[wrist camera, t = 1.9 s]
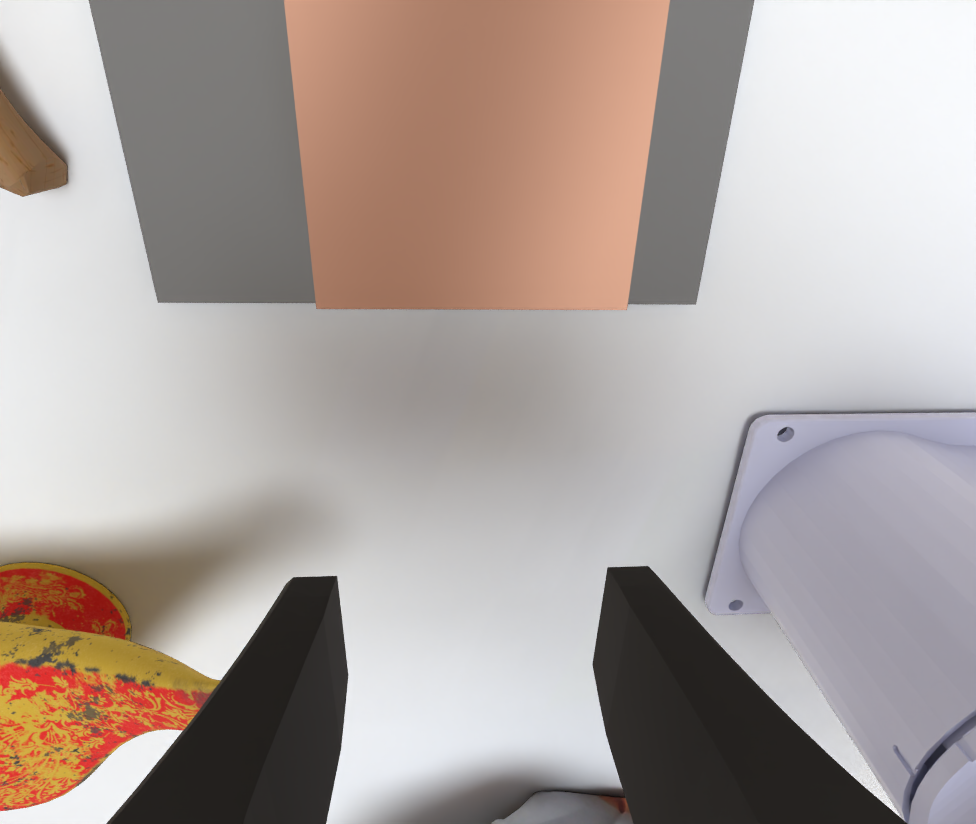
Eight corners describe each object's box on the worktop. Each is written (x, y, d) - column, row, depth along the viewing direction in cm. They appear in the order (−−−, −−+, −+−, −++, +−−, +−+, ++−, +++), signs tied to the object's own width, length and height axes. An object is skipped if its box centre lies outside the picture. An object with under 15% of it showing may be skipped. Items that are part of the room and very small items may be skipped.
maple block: (549, 12, 13) (679, -71, 6) (537, 205, 15) (626, 309, 8) (361, 4, 13) (274, -93, 6) (372, 202, 15) (315, 308, 8)
